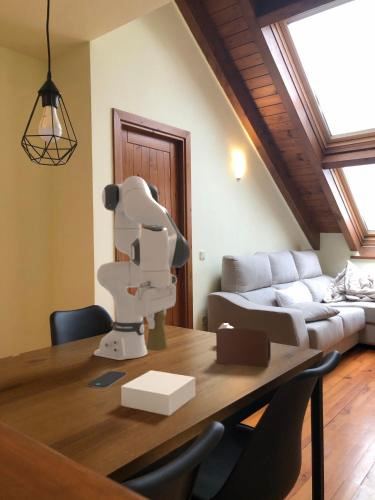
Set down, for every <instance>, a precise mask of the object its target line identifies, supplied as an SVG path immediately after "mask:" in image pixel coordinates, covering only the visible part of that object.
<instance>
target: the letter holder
mask: <svg viewBox="0 0 375 500" xmlns="http://www.w3.org/2000/svg"><path fill="white" fill-rule="evenodd" d="M215 339H216V342H215V343H216V346H215V349H216V350H215V351H216V354H215V355H216V356H215V357H216V360H215V362H216V363H217V364H226V365H227V364H228V365H240V366H252V367H253V366H254V367H264V368H265V367H269V365H270V362H271V360H272V359H271V358H272V357H271V356H272V352H271V350H272V349H271V347H272V346H271V345H272V343H271V341H270V337H269V334H268V332H267V331H266V330H262V329H255V328H249V327H248V328H247V327H234V328H222V329H218V328H217V330H216V336H215Z"/></svg>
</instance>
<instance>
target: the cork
mask: <svg viewBox="0 0 375 500" xmlns="http://www.w3.org/2000/svg"><path fill="white" fill-rule="evenodd" d="M165 320H166V315H165V314H164V312H162V311H160V312H157V313H154V321H155V322H156V328H154V329H149V328H148V334H147V344H146V349H147V351H153V352H154V351H156V352H157V351H163V350H166V349H167V348H168V344H167V337H166V330H165ZM163 322H164V323H163Z"/></svg>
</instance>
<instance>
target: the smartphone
mask: <svg viewBox="0 0 375 500" xmlns="http://www.w3.org/2000/svg"><path fill="white" fill-rule="evenodd" d="M126 376H127V372H126V371H125V372H124V371H116V370H111V371H107V372H106V373H104V374H102V375H100V376H98V377H97V378H95V379H93V380H91V381H89V382H88V383H87V385H88V387H90V386H91V387H92V388H99V389H106V388H109V387H111V386H113V385H114V384H115V383H117V382H119V381H120V380H121V379H123V378H125V377H126Z"/></svg>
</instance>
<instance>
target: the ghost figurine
mask: <svg viewBox="0 0 375 500" xmlns="http://www.w3.org/2000/svg"><path fill="white" fill-rule="evenodd" d="M222 328H235V327H234V326H231V325H230V324H229V323H228V322H227V323H225V322H223V323H221V325H220V326H219V327H218V328H217V330H218V329H222Z"/></svg>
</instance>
